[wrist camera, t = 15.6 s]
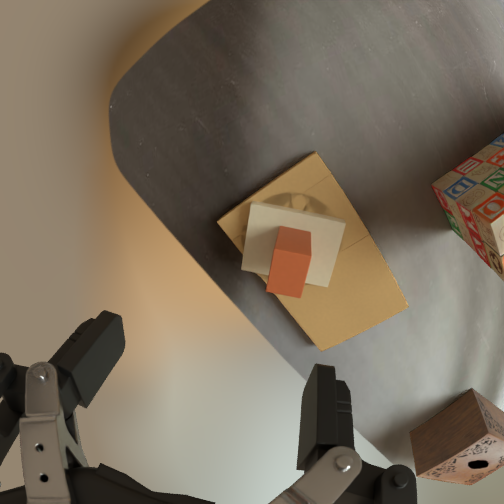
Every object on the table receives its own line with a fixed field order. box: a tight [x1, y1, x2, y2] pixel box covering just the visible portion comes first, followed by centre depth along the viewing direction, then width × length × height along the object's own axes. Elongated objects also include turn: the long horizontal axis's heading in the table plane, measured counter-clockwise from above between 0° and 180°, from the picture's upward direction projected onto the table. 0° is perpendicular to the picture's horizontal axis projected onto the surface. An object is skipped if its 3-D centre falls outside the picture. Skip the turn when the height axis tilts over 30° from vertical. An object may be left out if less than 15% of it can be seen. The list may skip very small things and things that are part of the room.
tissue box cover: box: [410, 389, 504, 485], centre depth 36 cm, size 26×14×10 cm, turn 57°
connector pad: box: [241, 201, 346, 298], centre depth 28 cm, size 9×7×8 cm
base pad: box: [217, 151, 409, 352], centre depth 31 cm, size 20×12×2 cm, turn 38°
